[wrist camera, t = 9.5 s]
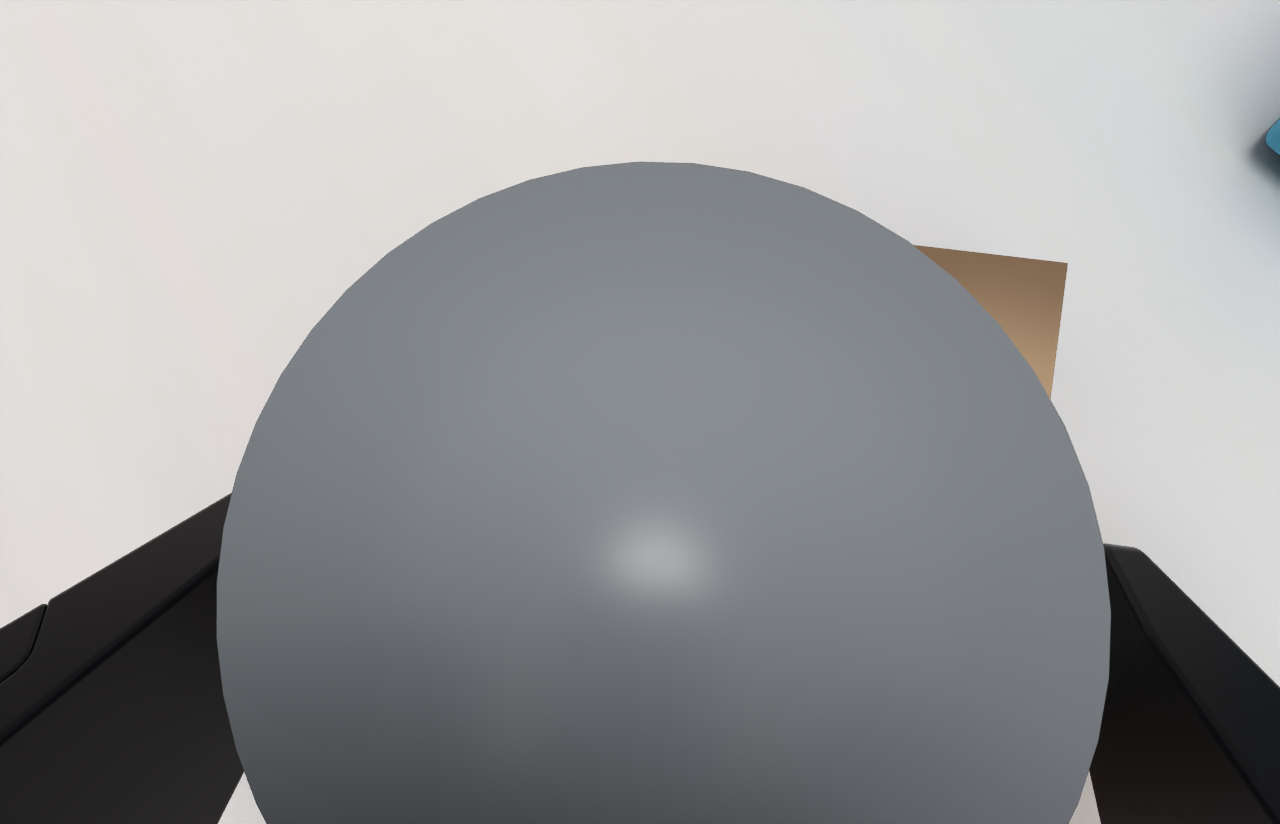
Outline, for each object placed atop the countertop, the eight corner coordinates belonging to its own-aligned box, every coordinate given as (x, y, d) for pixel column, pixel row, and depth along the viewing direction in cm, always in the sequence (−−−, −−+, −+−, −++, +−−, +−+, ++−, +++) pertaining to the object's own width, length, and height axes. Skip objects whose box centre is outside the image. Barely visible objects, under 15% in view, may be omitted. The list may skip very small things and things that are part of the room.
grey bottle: (738, 684, 17) (713, 1330, 4) (557, 533, 18) (38, 655, 5) (886, 496, 17) (1354, 522, 4) (697, 353, 17) (562, -19, 5)
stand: (941, 808, 20) (995, 898, 16) (454, 702, 22) (380, 755, 18) (1007, 306, 21) (1077, 256, 17) (536, 246, 23) (485, 188, 19)
